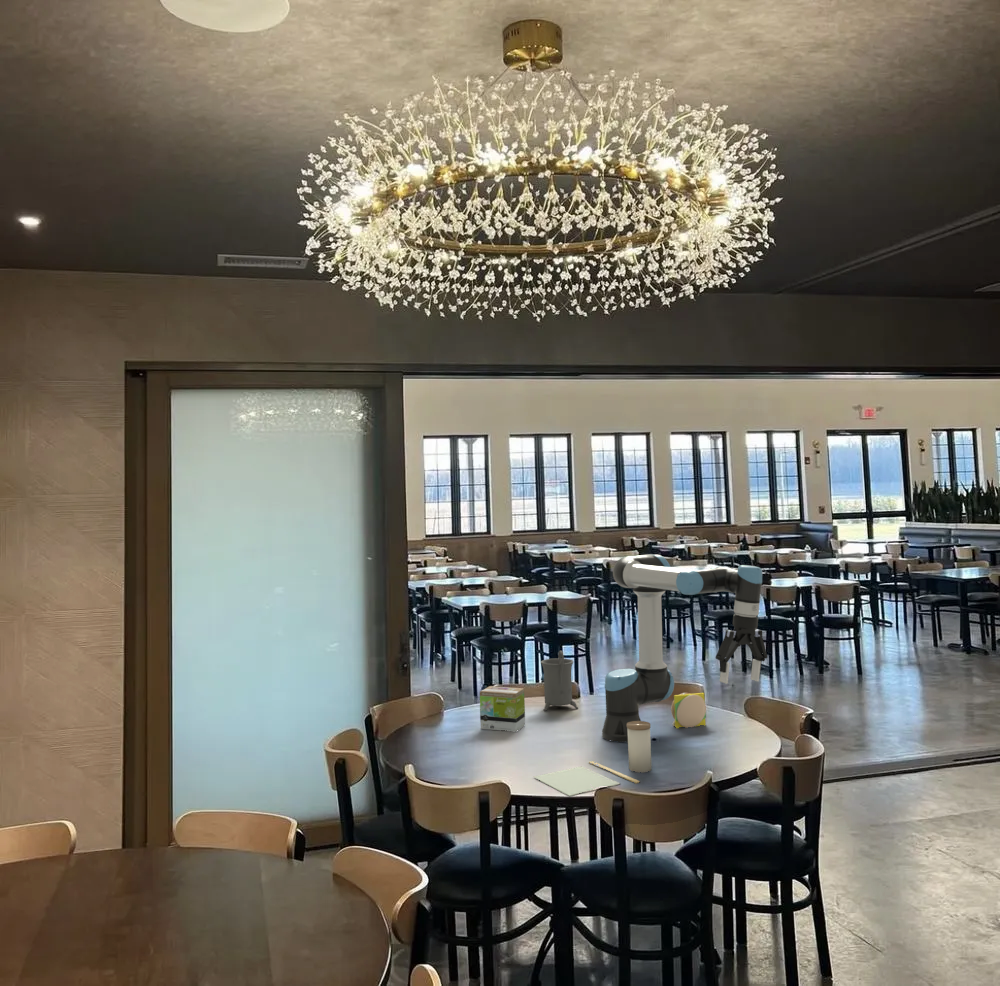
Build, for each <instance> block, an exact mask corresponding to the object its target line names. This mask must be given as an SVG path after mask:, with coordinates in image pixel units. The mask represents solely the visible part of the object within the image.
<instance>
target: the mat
mask: <svg viewBox="0 0 1000 986" xmlns="http://www.w3.org/2000/svg"><path fill="white" fill-rule="evenodd" d="M533 777H535V778H537V779H538V780H537V779H536V780H537V781H539V780H540V781H539V782H541V783H543V784H544V783H545V785H546V784H547V786H548V785H549V786H548V787H550V788H552V789H554V790H556V791H558V792H561V793H563V794H564V795H566V796H568V797H573V796H577V794H578V795H580V794H579V793H582V792H586V791H590V790H593V789H595V788H596V787H599V786H611V787H614V786H620V785H621V783H620V782H618V781H615V780H614V779H611V778H608V777H606V776H604V775H602V774H600V773H598V772H595V771H593V770H591V769H588V768H587V767H584V766H582V765H581V766H575V767H572V768H566V769H562V770H558V771H553V772H549V773H544V774H540V775H536V776H533ZM535 778H534V779H535ZM590 784H591V785H592V786H591V785H590ZM591 787H594V788H591ZM590 792H591V791H590ZM586 793H587V792H586ZM582 794H583V793H582Z"/></svg>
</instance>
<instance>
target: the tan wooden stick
mask: <svg viewBox="0 0 1000 986" xmlns="http://www.w3.org/2000/svg"><path fill="white" fill-rule="evenodd" d="M594 762H595V761H593V760H592V761H588V764H590V763H592V764H595V765H596V764H598V765H599V767H601V768H603V769H602V770H604V769H606V770H608V771H610V772H612V773H611V774H613V775H616V776H617V775H618V777H620V778H622V779H625V780H627V781H629V782H632V783H633V782H634V784H639V782H641V781H640V780H638V779H635V778H633V777H631V776H628V775H626V774H624V773H621V772H619V771H618V770H617V771H616V770H614V769H612V768H610V767H607V766H605V765H604V764H603V765H602V764H600V763H599V762H596V763H594ZM592 764H591V765H592ZM599 767H598V768H599ZM601 768H600V769H601ZM606 770H605V771H606ZM608 771H607V772H608ZM610 772H609V773H610Z"/></svg>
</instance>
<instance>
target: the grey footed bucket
mask: <svg viewBox="0 0 1000 986" xmlns="http://www.w3.org/2000/svg"><path fill="white" fill-rule="evenodd" d="M564 655H565V654H564V652H563V650H559V651H558V658H557V657H556V658H546V659H543V660H541V661H540V664H541V666H542V669H543V684H544V685H543V686H544V688H543V689H544V690H543V691H544V703H545V704H544V709H543V711H544V712H546V711H547V710H548V709H549V707H551V706H552V707H553V706H554V707H555V706H556V707H561V706H568V705H570V706H572V707H574V709H576V710H578V709H579V706H577V702H576V701H575V700H573V687H572V685H573V684H572V668H573V665H574V660H573V659H571V658H570V659H569V658H565V656H564Z"/></svg>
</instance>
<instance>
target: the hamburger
mask: <svg viewBox="0 0 1000 986" xmlns="http://www.w3.org/2000/svg"><path fill="white" fill-rule="evenodd" d="M706 704H707V703H706V699H705V692H697V693H695V692H694V693H690V692H682V693H680V694H674V695H673V701H672V702H671V709H670V710H671V716H672V718H673V719H674V720H673V721H672V726H673V727H674V726H675V727H676V728H675V727H674V728H675V729H680V728H679V727H685V728H687V729H689V728H688V727H691V728H695V727H701V726H700V725H704V726H706V725H707V724H706V718H707V714H706V713H707V712H706V711H707V705H706ZM694 726H695V727H694Z"/></svg>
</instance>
